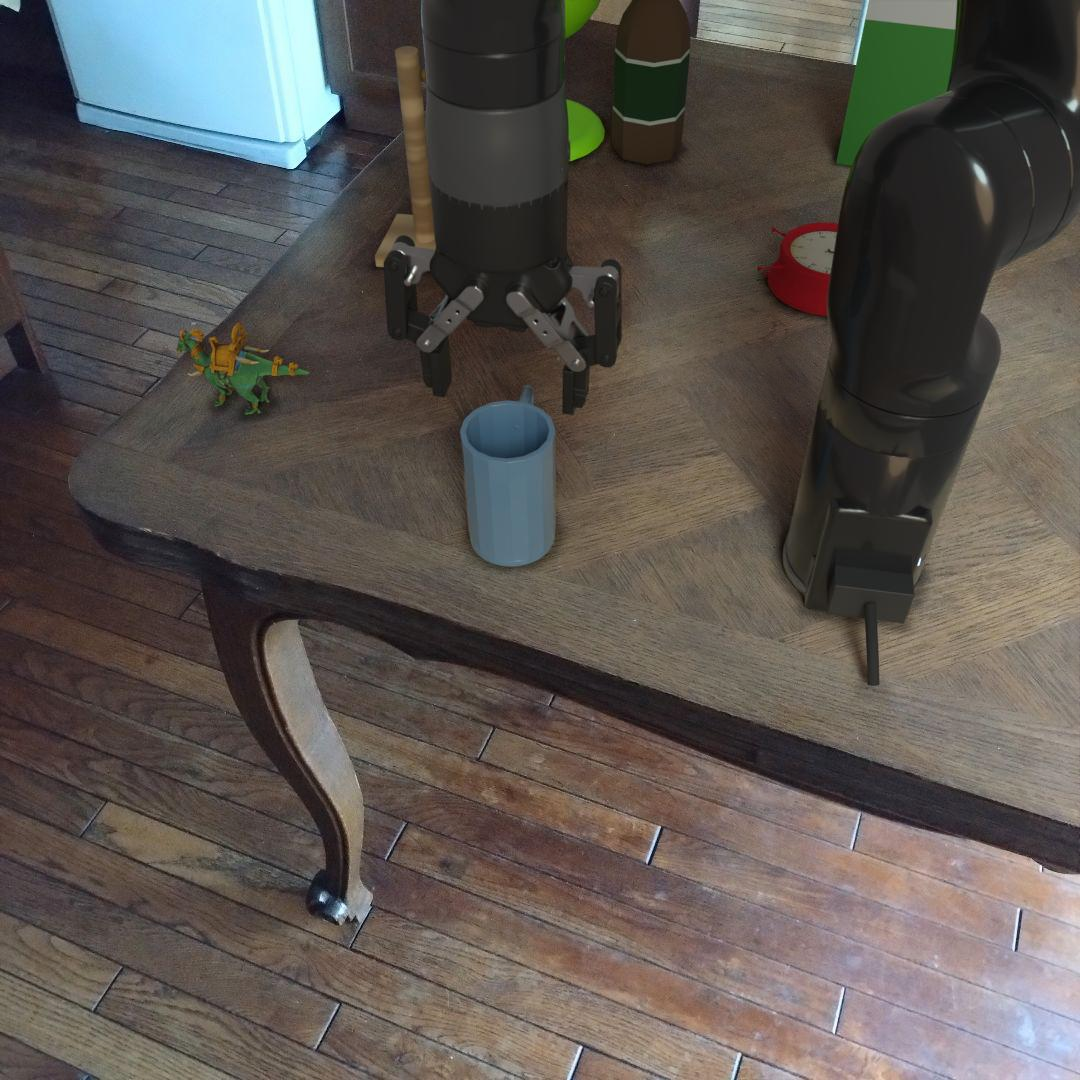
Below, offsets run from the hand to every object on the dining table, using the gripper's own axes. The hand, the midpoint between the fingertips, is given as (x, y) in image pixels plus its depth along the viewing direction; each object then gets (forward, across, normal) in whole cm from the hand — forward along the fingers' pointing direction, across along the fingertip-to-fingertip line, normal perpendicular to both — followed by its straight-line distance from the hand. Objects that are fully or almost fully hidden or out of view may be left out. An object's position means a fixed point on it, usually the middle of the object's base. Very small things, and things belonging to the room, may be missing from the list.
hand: (506, 397), depth 69 cm
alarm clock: (+12, +23, +36) cm, 44 cm away
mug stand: (+13, -12, +36) cm, 40 cm away
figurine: (+13, -24, +9) cm, 29 cm away
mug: (+12, 0, +1) cm, 12 cm away
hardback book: (+13, +32, +63) cm, 72 cm away
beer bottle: (+13, +2, +60) cm, 61 cm away
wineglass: (+13, -12, +62) cm, 64 cm away
